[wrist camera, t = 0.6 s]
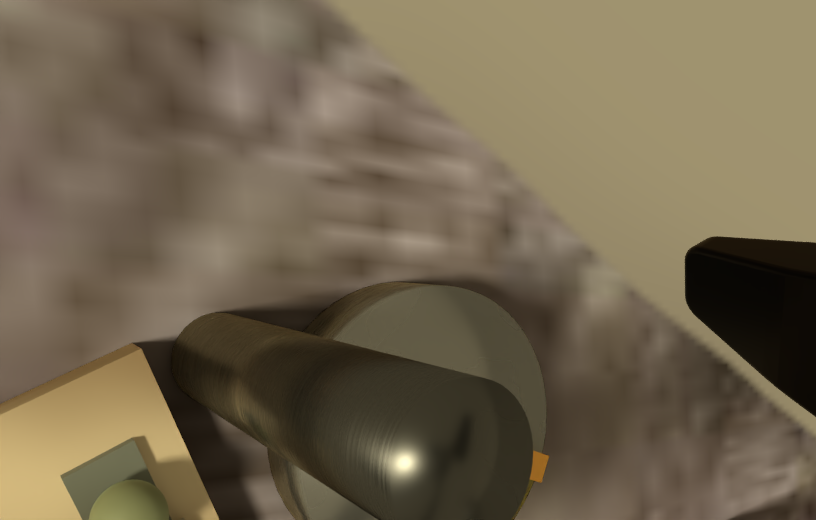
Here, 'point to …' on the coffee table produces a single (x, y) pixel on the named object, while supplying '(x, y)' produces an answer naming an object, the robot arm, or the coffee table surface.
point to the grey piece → (381, 403)
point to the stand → (97, 449)
